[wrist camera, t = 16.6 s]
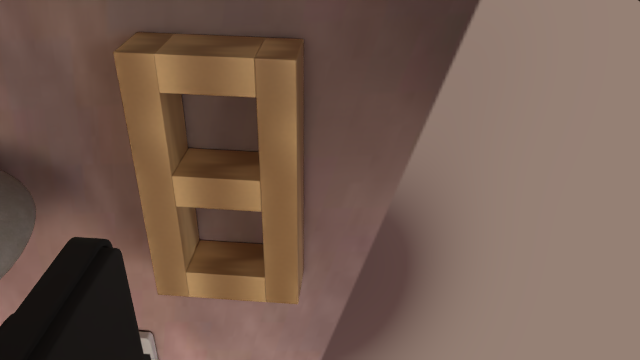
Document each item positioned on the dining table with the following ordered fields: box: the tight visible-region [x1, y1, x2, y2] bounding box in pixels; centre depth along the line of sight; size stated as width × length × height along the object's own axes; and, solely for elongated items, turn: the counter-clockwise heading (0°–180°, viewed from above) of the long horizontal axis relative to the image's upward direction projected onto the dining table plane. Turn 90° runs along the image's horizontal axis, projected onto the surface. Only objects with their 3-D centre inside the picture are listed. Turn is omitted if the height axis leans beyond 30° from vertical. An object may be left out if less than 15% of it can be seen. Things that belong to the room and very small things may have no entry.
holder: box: [113, 32, 304, 304], centre depth 40 cm, size 11×20×4 cm, turn 179°
